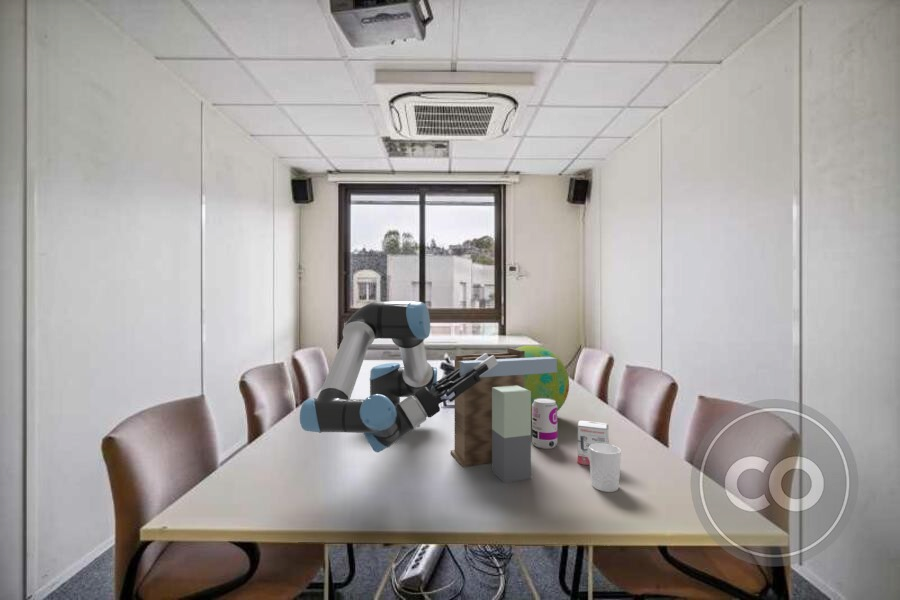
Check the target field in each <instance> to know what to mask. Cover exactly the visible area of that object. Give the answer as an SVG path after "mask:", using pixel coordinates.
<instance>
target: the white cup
mask: <svg viewBox="0 0 900 600" xmlns="http://www.w3.org/2000/svg"><path fill="white" fill-rule="evenodd" d="M621 456H622V449H621V448H620V447H618V446H616V445H613V444H609V443H608V444H604V443H595V444H591V445H590V446H589V458H590V465H589V471H590V485H591V487H593V488H594V489H596V490H598V491H601V492H604V493H605V492H606V493H613V492H616V491H619V489H620V488H619V487H620V478H621V475H620V474H621V462H622V461H621V460H622V459H621Z"/></svg>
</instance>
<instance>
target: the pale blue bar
mask: <svg viewBox="0 0 900 600" xmlns="http://www.w3.org/2000/svg"><path fill="white" fill-rule="evenodd" d="M496 360H497V362H498V364H497V365H496V366H494V367H493V368H491V369H490V370H489V371H487V372H486V373H484V374H483V375H481V376H480V377H493V376H509V375H525V374H541V373H557V358H553V357H532V358H512V359H496ZM483 361H484V360H471V361H460V376H461V377H462V376H463V375H465V374H467V373H469V372H470V371H472V370H474V367H475V366H477V365H478V364H480V363H481V362H483Z"/></svg>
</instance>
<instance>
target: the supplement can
mask: <svg viewBox="0 0 900 600" xmlns="http://www.w3.org/2000/svg"><path fill="white" fill-rule="evenodd" d="M531 444H533V445H534V446H535V447H536V448H538V449H543V450H544V449H545V450H551V449H555V448H556V447H557V445H558V411H557V404H556V402H555V400H553V399H548V398H538V399H535V400H534V402H533V404H532V421H531Z"/></svg>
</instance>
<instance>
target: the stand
mask: <svg viewBox="0 0 900 600" xmlns="http://www.w3.org/2000/svg"><path fill="white" fill-rule="evenodd" d="M506 350H507V352H497V353H496V352H494V353H493V352H492V353H491V352H490V353H487V354H488V356H489V357H490V356H492V355H494V356H495V358H496V359H512V358H525V351H523V350H519V349H516V348H515V347H507V349H506ZM483 354H484V353H476V354H475V353H473V354H455V355H454V357H455V359H454V370H456V369H457V368H459V367H460V361H471V360H476V359H477V358H479V357H480V356H482V355H483ZM480 379H481V380H480V381H479V382H477V383H476V384H474V385H473V386H472V387H470V388H469V389H467V390H466V391H464V392H463V393H462V394H460V395H459V396H457V397H456V398H455V399H454V449H451V450H450V454H451V455H452V457H453V458H454V459H455V460H456V461H457V462H458V464H459V465H460V464H461V467H470V466H479V465H486V464H490V463H491V464H492V387H502V386H516V385H517V386H520V387H522V388H524V389H525V375H509V376H493V377H480ZM478 464H479V465H478ZM469 465H470V466H469Z"/></svg>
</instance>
